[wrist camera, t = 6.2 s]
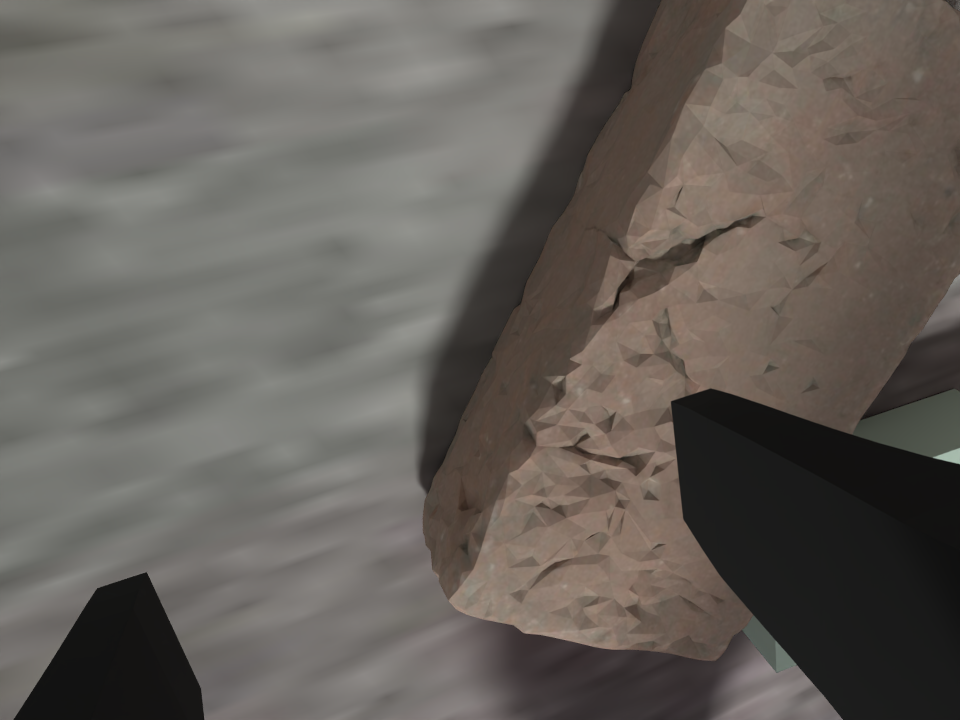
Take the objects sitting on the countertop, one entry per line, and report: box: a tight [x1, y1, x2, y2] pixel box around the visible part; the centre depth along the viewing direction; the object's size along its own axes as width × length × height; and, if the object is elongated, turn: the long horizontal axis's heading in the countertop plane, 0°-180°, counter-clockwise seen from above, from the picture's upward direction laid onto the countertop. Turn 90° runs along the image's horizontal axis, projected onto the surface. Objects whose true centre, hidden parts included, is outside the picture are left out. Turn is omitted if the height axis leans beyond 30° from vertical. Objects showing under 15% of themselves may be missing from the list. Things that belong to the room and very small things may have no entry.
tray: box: [742, 389, 960, 673], centre depth 27 cm, size 6×8×2 cm
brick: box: [423, 0, 960, 661], centre depth 21 cm, size 17×8×5 cm, turn 154°
